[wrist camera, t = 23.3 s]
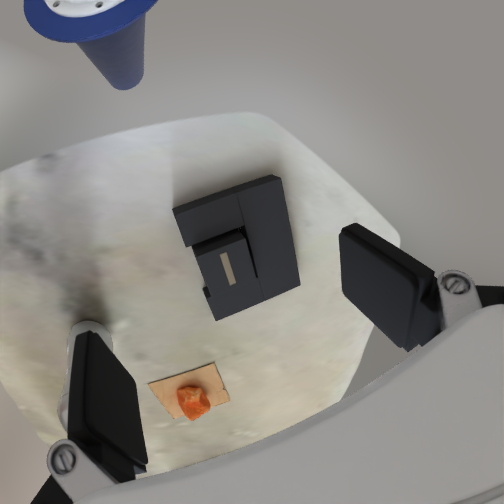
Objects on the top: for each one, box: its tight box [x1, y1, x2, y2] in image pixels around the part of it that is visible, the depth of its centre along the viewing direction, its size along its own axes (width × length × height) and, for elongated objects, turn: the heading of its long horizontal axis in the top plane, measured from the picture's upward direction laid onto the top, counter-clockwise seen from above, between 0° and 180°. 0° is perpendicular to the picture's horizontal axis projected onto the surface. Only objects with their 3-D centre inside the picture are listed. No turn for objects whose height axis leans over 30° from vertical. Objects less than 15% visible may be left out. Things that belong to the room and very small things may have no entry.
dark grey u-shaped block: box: [172, 174, 301, 321], centre depth 38 cm, size 16×13×2 cm
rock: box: [148, 364, 230, 421], centre depth 46 cm, size 12×12×4 cm
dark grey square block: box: [191, 228, 256, 297], centre depth 36 cm, size 6×6×4 cm
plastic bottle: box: [58, 321, 113, 432], centre depth 27 cm, size 6×7×20 cm
